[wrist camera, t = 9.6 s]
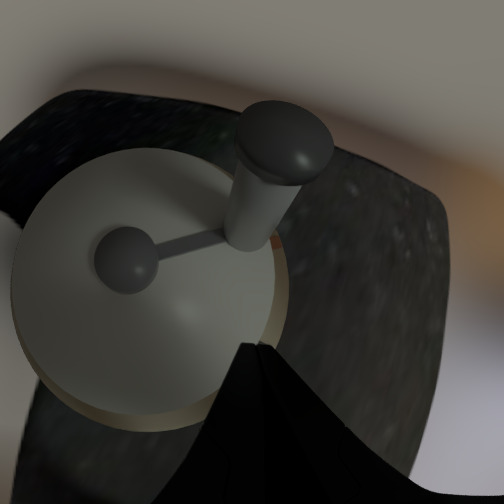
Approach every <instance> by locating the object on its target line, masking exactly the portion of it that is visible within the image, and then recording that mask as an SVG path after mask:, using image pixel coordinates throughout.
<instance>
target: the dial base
mask: <svg viewBox="0 0 504 504" xmlns="http://www.w3.org/2000/svg"><path fill="white" fill-rule="evenodd" d="M187 155H188V154H187ZM190 156H191V155H190ZM193 157H194V156H193ZM196 158H197V157H196ZM198 159H200V160H202V161H204V162H206V163H208V164H210V165H212V166H214V167H215V168H217V169H218V170H220V171H221V172H223V173H224V174H225V175H227V176H228V177H229V178H230V179H231V180H232V181H233V180H234V177H233V176H232V175H231V174H229V173H228V172H226V171H224V170H223V169H221V168H219V167H218V166H216V165H214V164H212V163H210V162H207V161H205V160H203V159H201V158H198ZM269 239H270V243H271V247H272V252H273V257H274V269H275V285H274V297H273V302H272V306H271V311H270V315H269V318H268V321H267V324H266V326H265V329H264V332H263V334H262V336H261V338H260V340H259V342H258V343H259V344H270V345H272V346H273V347H274V349H275V348H276V346H277V344H278V342H279V339H280V337H281V333H282V330H283V326H284V323H285V319H286V314H287V307H288V299H289V277H288V270H287V262H286V257H285V254H284V250H283V246H282V243H281V240H280V238H279V235H278V233H277V231H276V228H275V230H274V232H273V233H272V235H271V236H270V238H269ZM12 270H13V269H12ZM11 307H12V316H13V320H14V325H15V329H16V333H17V336H18V339H19V341H20V344H21V347H22V349H23V351H24V353H25V355H26V357H27V359H28V361H29V363H30V364H31V366H32V368H33V369H34V371H35V372H36V374H37V375H38V376H39V378H40V379H41V380H42V382H43V383H44V384H45V385H46V386H47V387H48V388H49V389H50V390H51V392H52V393H54V394H55V395H56V396H57V397H58V398H59V399H60V400H61V401H62V402H64V403H65V404H66V405H68V406H69V407H70V408H72V409H73V410H75V411H76V412H78V413H80V414H82V415H84V416H86V417H87V418H89V419H91V420H93V421H96V422H99V423H101V424H104V425H107V426H110V427H114V428H118V429H123V430H129V431H140V432H157V431H166V430H174V429H178V428H182V427H185V426H189V425H192V424H195V423H198V422H200V421H202V420H204V419H205V418H206V416H207V414H208V412H209V410H210V408H211V406H212V403H213V401H214V399H215V397H216V395H217V393H218V391H219V389H220V388H219V389H217V390H216V391H215V392H213V393H212V394H210V395H208V396H207V397H205V398H203V399H201V400H199V401H198V402H196V403H194V404H191V405H189V406H186V407H183V408H180V409H178V410H175V411H170V412H165V413H160V414H155V415H127V414H118V413H113V412H109V411H105V410H102V409H98V408H96V407H93V406H91V405H89V404H86V403H84V402H82V401H80V400H78V399H76V398H75V397H73V396H72V395H70V394H69V393H67V392H66V391H64V390H63V389H62V388H60V387H59V386H58V385H57V384H56V383H55V382H53V381H52V380H51V379H50V378H49V377H48V376H47V375H46V373H45V372H44V371H43V370H42V369H41V368H40V366H39V365H38V364H37V362H36V361H35V359H34V358H33V356H32V355H31V353H30V352H29V350H28V348H27V346H26V344H25V342H24V340H23V337H22V335H21V333H20V330H19V327H18V324H17V320H16V317H15V312H14V306H13V300H12V276H11Z"/></svg>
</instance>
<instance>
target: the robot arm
mask: <svg viewBox="0 0 504 504" xmlns="http://www.w3.org/2000/svg"><path fill="white" fill-rule="evenodd" d="M151 504H504V495H501V496H468V495H453V494H441V493H436V492H432V491H429V490H427V489H424V488H422V487H420V486H419V485H417V484H416V483H414V482H413V481H411V480H410V479H409V478H407V477H406V476H404V475H403V474H402V473H400V472H399V471H398V470H396V469H395V468H394V467H392V466H391V465H390V464H388V463H387V462H386V461H384V460H383V459H382V458H380V457H379V456H378V455H377V454H376V453H374V452H373V451H372V450H371V449H370V448H368V447H367V446H366V445H365V444H364V443H363V442H362V441H361V440H360V439H359V438H358V437H357V436H356V435H355V434H354V433H353V432H352V431H351V430H350V429H349V428H348V427H345V424H344V423H343V422H342V421H341V420H340V419H339V418H338V417H337V416H336V415H335V414H334V413H333V412H332V411H331V410H330V409H329V408H328V407H327V406H326V404H325V403H324V402H323V401H322V400H321V399H320V398H319V397H318V396H317V395H316V394H315V393H314V392H313V391H312V390H311V388H310V387H309V386H308V385H307V384H306V383H305V382H304V381H303V380H302V379H301V378H300V377H299V375H298V374H297V373H296V372H295V371H294V370H293V369H292V368H291V367H290V365H289V364H288V363H287V362H286V361H285V360H284V359H283V358H282V357H281V355H280V354H279V353H278V352H277V351H276V350H275V349H274V347H273V346H272V345H270V344H259V343H258V344H256V345H255V344H254V343H247V342H242V343H240V345H239V347H238V349H237V352H236V354H235V356H234V358H233V360H232V363H231V365H230V367H229V369H228V371H227V373H226V376H225V378H224V380H223V382H222V384H221V386H220V389H219V391H218V393H217V395H216V397H215V399H214V401H213V403H212V406H211V408H210V410H209V412H208V414H207V416H206V418H205V420H204V422H203V424H202V426H201V429H200V430H199V432H198V434H197V436H196V438H195V441H194V442H193V444H192V446H191V448H190V450H189V452H188V453H187V455H186V457H185V458H184V460H183V461H182V463H181V464H180V466H179V467H178V469H177V470H176V472H175V473H174V475H173V476H172V477H171V479H170V480H169V481H168V482H167V484H166V485H165V486H164V488H163V489H162V490H161V492H160V493H159V494H158V495H157V497H156V498H155V499H154V500H153V502H152V503H151Z"/></svg>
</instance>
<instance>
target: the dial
mask: <svg viewBox="0 0 504 504" xmlns="http://www.w3.org/2000/svg"><path fill="white" fill-rule="evenodd" d="M234 147H235V151H236V154H237V156H238V158H239V160H238V164H237V168H236V172H235V176H234V180H233V181H232V180H231V179H230V178H229V177H228V176H227V175H225V174H224V173H223V172H221V171H220V170H218V169H217V168H215V167H214V166H212V165H210V164H208V163H206V162H204V161H202V160H200V159H198V158H196V157H193V156H190V155H187V154H185V153H181V152H176V151H172V150H166V149H157V148H137V149H128V150H122V151H117V152H113V153H109V154H106V155H104V156H101V157H98V158H95V159H93V160H91V161H89V162H87V163H85V164H83V165H81V166H79V167H78V168H76V169H75V170H73V171H72V172H70V173H69V174H67V175H66V176H65V177H64V178H62V179H61V180H60V181H59V182H57V183H56V184H55V185H54V186H53V187H52V188H51V189H50V190H49V191H48V192H47V193H46V195H45V196H44V197H43V198H42V200H41V201H40V202H39V203H38V205H37V206H36V208H35V209H34V211H33V212H32V214H31V216H30V217H29V219H28V221H27V223H26V225H25V227H24V229H23V231H22V234H21V237H20V240H19V242H18V245H17V248H16V253H15V258H14V263H13V270H12V300H13V306H14V312H15V317H16V320H17V324H18V327H19V330H20V333H21V335H22V337H23V340H24V342H25V344H26V346H27V348H28V350H29V352H30V353H31V355H32V356H33V358H34V359H35V361H36V362H37V364H38V365H39V366H40V368H41V369H42V370H43V371H44V372H45V373H46V375H47V376H48V377H49V378H50V379H51V380H52V381H53V382H55V383H56V384H57V385H58V386H59V387H60V388H62V389H63V390H64V391H66V392H67V393H69V394H70V395H72V396H73V397H75V398H76V399H78V400H80V401H82V402H84V403H86V404H89V405H91V406H93V407H96V408H98V409H102V410H105V411H109V412H113V413H118V414H127V415H155V414H160V413H165V412H170V411H175V410H178V409H180V408H183V407H186V406H189V405H191V404H194V403H196V402H198V401H199V400H201V399H203V398H205V397H207V396H208V395H210V394H212V393H213V392H215V391H216V390H217V389H219V388H220V386H221V384H222V382H223V380H224V378H225V376H226V373H227V371H228V369H229V367H230V365H231V363H232V360H233V358H234V356H235V354H236V352H237V349H238V347H239V345H240V343H242V342H247V343H254V344H255V345H256V344H258V342H259V340H260V338H261V336H262V334H263V332H264V329H265V326H266V324H267V321H268V318H269V315H270V311H271V306H272V302H273V297H274V285H275V269H274V257H273V252H272V247H271V243H270V239H269V238H270V236H271V235H272V233H273V232H274V230H275V228H276V227H277V225H278V224H279V222H280V220H281V219H282V217H283V216H284V214H285V212H286V211H287V209H288V207H289V206H290V204H291V203H292V201H293V199H294V198H295V196H296V195H297V193H298V191H299V190H300V188H301V186H302V185H305V184H308V183H310V182H312V181H313V180H315V179H316V178H317V177H318V176H319V175H320V174H321V172H322V171H323V169H324V168H325V166H326V165H327V163H328V162H329V160H330V159H331V157H332V155H333V151H334V142H333V139H332V136H331V133H330V132H329V130H328V129H327V127H326V126H325V124H324V123H323V122H322V121H321V120H320V119H319V118H318V117H316V116H315V115H314V114H312V113H311V112H309V111H308V110H306V109H304V108H302V107H300V106H297V105H294V104H291V103H288V102H283V101H275V100H274V101H273V100H272V101H261V102H257V103H255V104H252V105H250V106H249V107H247V108H246V109H245V110H244V111H243V112H242V114H241V115H240V118H239V121H238V125H237V130H236V134H235V139H234Z"/></svg>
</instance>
